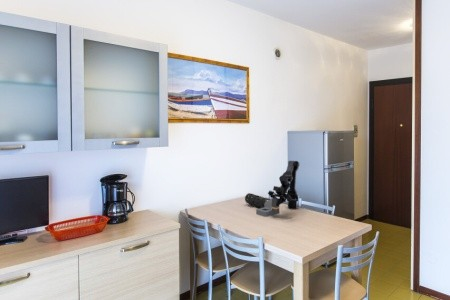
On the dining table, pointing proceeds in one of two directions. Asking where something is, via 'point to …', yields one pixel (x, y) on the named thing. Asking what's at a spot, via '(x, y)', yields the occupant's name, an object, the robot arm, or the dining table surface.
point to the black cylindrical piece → (258, 201)
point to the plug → (275, 208)
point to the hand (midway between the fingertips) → (274, 205)
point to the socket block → (264, 212)
